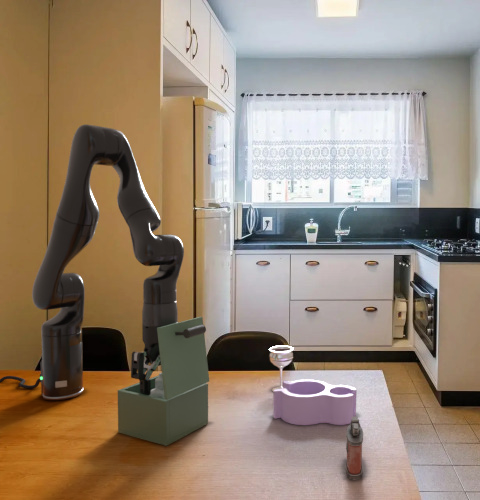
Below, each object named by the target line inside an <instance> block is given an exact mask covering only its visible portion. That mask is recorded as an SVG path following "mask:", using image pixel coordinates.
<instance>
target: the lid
mask: <svg viewBox="0 0 480 500" xmlns="http://www.w3.org/2000/svg"><path fill="white" fill-rule="evenodd" d="M206 331H207V327H206V326H205V324H204V319H203V316H197V317H195V318H190V319H186V320H182V321H178V323H174V324H170V325H166V326H162V327H158V328H157V333H158V342H159V351H160V360H161V365H160V370H161V373H162V378H163V387H164V396H165V400H168V399H170V398H172V397H175V396H177V395H179V394H182V393H184V392H186V391H189V390H191V389H193V388H196V387H198V386H200V385H202V384H205V383H209V382H210V373H209V365H208V363H209V362H208V356H207V347H206V346H207V345H206V339H205V338H206V336H205V334H206Z"/></svg>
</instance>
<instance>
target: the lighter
mask: <svg viewBox="0 0 480 500" xmlns="http://www.w3.org/2000/svg"><path fill="white" fill-rule="evenodd" d="M345 434H346V435H345V437H346V440H345V442H346V443H345V451H346V459H345V473H346V476H347V478H348V479H350V480H355V481H356V480H359V479H361V478H362V475H363V461H362V460H363V459H362V458H363V442H364V430H363V427H362V426H361V423H360V419H359V418H358V416H355V417H352V419H351V423H350V424H348V425H347V428H346V433H345Z"/></svg>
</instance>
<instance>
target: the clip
mask: <svg viewBox="0 0 480 500" xmlns="http://www.w3.org/2000/svg"><path fill="white" fill-rule="evenodd" d="M282 387H283V388H281V389H275V390H273V391H272V392H273V395H272V397H273V399H272V401H273V402H272V403H273V404H272V405H273V406H272V418H273V419H281V420H283V421H284V422H285V423H288V424H291V425H298V426H310V425H311V426H312V425H316V424H322V423H323V424H324V423H325V424H326V423H327V424H330V425H335V426H343V425H344V426H345V425H351V419H352V417H357V388H356V387H354V386H351V385H347V384H346V385H345V384H331V383H327V382H326V381H322V380H318V379H297V380H292V381H289V380H282Z"/></svg>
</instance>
